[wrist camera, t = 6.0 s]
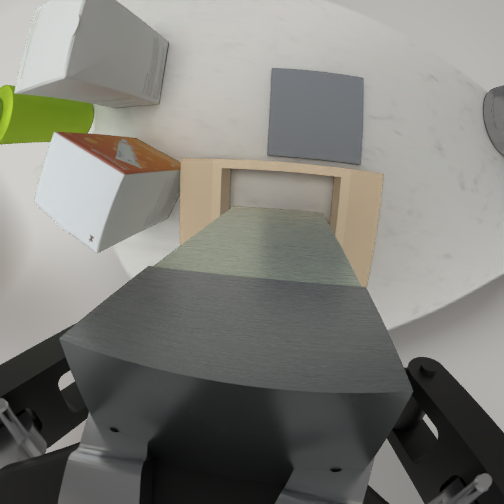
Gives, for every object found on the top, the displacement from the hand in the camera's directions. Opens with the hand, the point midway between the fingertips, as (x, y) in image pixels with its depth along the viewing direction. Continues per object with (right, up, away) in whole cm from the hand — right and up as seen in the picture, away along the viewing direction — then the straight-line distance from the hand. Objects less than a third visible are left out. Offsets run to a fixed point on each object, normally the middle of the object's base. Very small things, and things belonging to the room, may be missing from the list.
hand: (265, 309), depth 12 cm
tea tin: (+1, +1, +4) cm, 4 cm away
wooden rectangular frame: (+2, +5, +17) cm, 18 cm away
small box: (-11, +11, +17) cm, 23 cm away
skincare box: (-13, +22, +14) cm, 29 cm away
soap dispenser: (-23, +19, +16) cm, 34 cm away
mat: (+6, +16, +13) cm, 21 cm away
